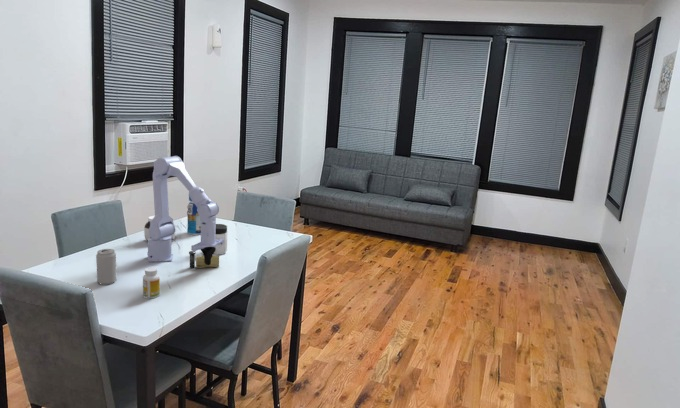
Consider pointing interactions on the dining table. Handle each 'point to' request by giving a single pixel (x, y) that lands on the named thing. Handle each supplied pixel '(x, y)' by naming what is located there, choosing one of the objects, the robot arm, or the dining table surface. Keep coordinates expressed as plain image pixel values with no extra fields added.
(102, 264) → the beverage can
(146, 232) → the spread jar
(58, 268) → the dining table surface
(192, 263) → the hinge base
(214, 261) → the brass leaf
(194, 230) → the beverage bottle
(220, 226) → the jar
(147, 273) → the supplement bottle
